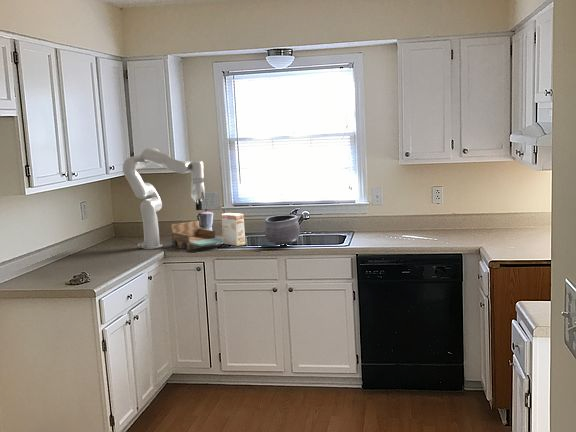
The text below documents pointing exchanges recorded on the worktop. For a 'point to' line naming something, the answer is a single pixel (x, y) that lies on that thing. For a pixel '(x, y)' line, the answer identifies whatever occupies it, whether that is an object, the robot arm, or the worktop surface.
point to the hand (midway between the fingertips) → (198, 210)
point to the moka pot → (206, 220)
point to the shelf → (189, 234)
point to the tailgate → (207, 242)
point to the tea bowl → (282, 229)
